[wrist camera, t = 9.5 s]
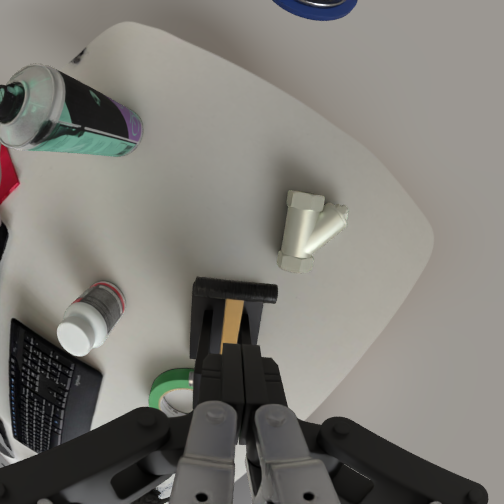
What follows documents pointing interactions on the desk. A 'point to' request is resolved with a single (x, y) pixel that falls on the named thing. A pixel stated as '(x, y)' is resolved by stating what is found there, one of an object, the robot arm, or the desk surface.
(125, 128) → the spray can
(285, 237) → the pipe fitting
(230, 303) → the faucet lever
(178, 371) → the tape roll
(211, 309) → the black mounting base
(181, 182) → the desk surface
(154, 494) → the walkie-talkie
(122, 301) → the pill bottle
